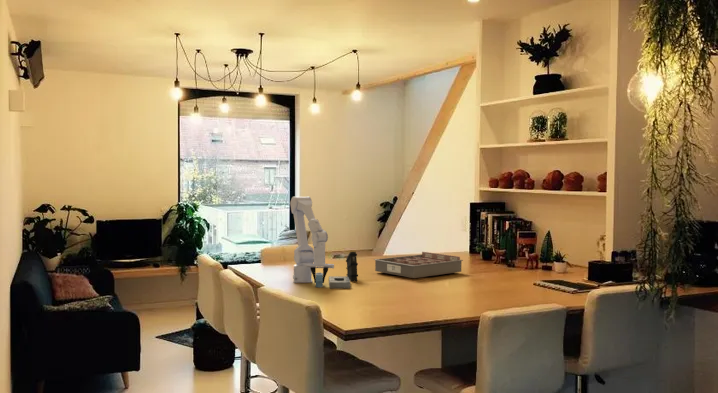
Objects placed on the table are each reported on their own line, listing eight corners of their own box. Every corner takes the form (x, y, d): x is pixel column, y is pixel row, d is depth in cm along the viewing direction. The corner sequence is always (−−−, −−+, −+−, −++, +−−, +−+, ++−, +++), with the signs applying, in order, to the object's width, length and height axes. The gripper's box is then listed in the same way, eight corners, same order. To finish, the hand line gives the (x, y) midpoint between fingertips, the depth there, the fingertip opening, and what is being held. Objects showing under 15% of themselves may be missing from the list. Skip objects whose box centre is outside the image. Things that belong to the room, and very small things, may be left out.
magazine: (352, 279, 312) (349, 251, 318) (347, 286, 324) (344, 259, 330) (359, 279, 313) (356, 251, 319) (354, 286, 325) (351, 259, 331)
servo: (315, 287, 296) (315, 274, 296) (315, 284, 306) (315, 271, 306) (322, 287, 296) (322, 274, 296) (322, 284, 307) (322, 271, 306)
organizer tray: (373, 273, 345) (373, 255, 344) (422, 267, 370) (422, 251, 370) (413, 281, 320) (413, 262, 320) (463, 274, 346) (463, 256, 346)
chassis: (329, 288, 295) (329, 282, 295) (328, 282, 313) (328, 276, 313) (350, 288, 295) (350, 282, 295) (348, 282, 313) (348, 276, 313)
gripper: (304, 256, 296) (304, 284, 297) (334, 256, 297) (334, 284, 298) (304, 254, 303) (304, 281, 304) (333, 254, 304) (333, 281, 305)
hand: (319, 282), depth 301 cm, fingers closed on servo, 3 cm apart
